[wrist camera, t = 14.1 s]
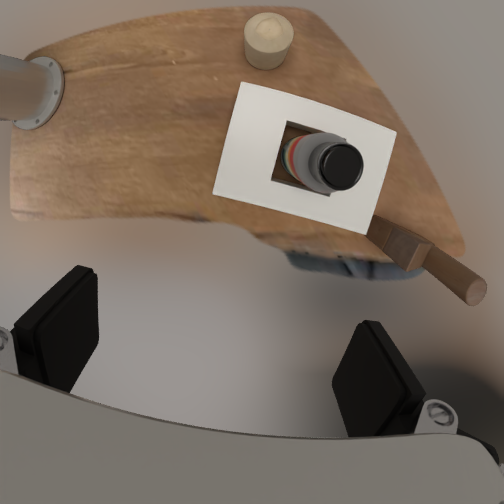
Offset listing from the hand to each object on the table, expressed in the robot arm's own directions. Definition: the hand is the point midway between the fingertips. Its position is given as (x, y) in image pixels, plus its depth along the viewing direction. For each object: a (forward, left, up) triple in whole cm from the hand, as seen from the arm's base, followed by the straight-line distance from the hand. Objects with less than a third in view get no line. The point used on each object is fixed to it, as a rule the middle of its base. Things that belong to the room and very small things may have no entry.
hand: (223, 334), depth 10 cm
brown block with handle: (+25, 0, -34) cm, 42 cm away
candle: (-2, +20, -34) cm, 40 cm away
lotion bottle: (+6, +7, -34) cm, 35 cm away
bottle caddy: (+7, +7, -34) cm, 35 cm away
